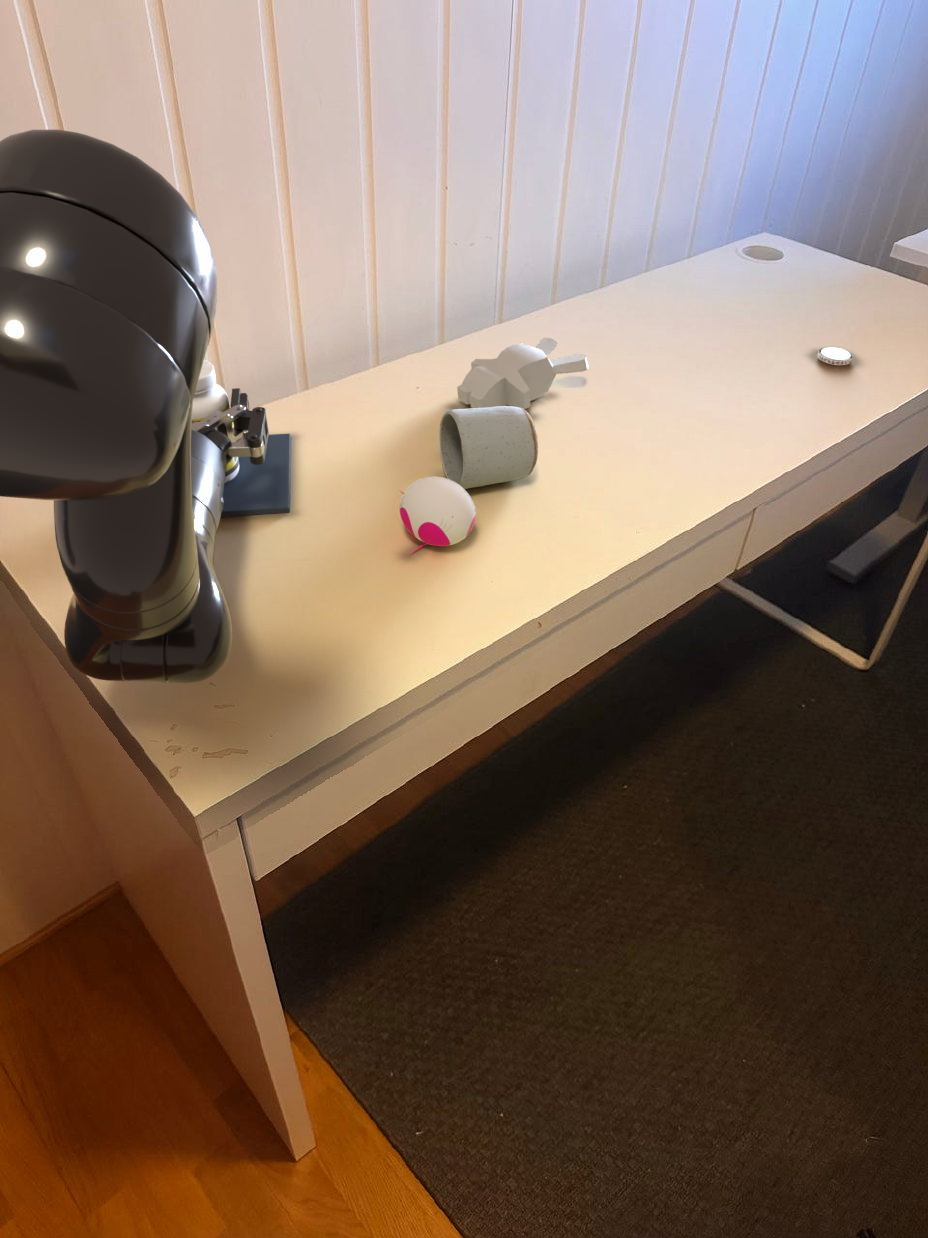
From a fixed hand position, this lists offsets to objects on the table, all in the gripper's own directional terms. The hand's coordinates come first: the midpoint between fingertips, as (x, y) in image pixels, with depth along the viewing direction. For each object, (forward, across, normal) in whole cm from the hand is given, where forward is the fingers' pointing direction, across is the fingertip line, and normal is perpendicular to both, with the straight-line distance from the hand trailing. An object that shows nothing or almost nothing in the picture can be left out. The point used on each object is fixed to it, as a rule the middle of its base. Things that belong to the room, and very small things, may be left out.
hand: (191, 399), depth 84 cm
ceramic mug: (-3, -27, +8) cm, 29 cm away
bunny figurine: (+13, -34, +8) cm, 38 cm away
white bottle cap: (+18, -75, +8) cm, 78 cm away
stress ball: (-14, -21, +8) cm, 27 cm away
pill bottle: (-1, 0, +8) cm, 8 cm away
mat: (-1, -1, +8) cm, 8 cm away
